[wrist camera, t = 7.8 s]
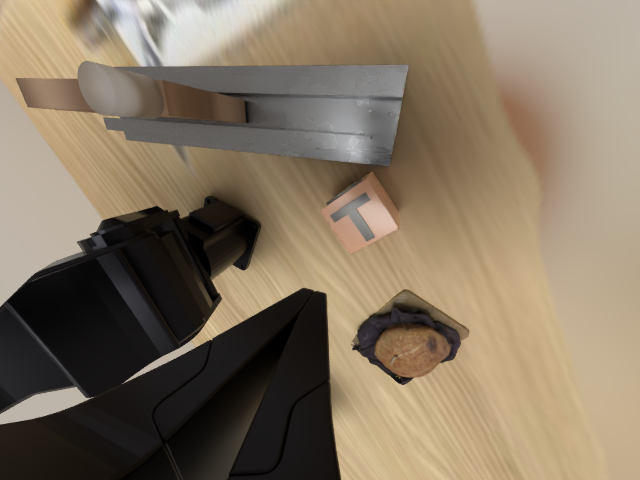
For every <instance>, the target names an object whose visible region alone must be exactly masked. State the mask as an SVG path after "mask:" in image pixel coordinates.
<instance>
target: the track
mask: <svg viewBox="0 0 640 480" xmlns="http://www.w3.org/2000/svg"><path fill="white" fill-rule="evenodd" d="M408 67H409V65H312V66H188V67H114V68H118V69H122V70H126V71H130V72H134V73H138V74H142V75H146V76H149V77H150V78H152V79H153V80H165V81H169V82H173V83H177V84H181V85H185V86H189V87H193V88H198V89H202V90H206V91H210V92H214V93H218V94H222V95H226V96H230V97H234V98H238V99H242V100H244V101H245V115H246V123H235V122H219V121H204V120H188V119H172V118H156V119H147V118H134V117H121V116H120V118H121V119H118V118H104V117H103V119H104V122H105V125H106V128H107V130H118V131H124V133H125V136H126V140H133V141H143V142H153V143H163V144H173V145H183V146H193V147H203V148H213V149H223V150H233V151H243V152H253V153H263V154H272V155H282V156H292V157H302V158H312V159H322V160H332V161H342V162H352V163H362V164H372V165H382V166H390V163H391V158H392V153H393V147H394V142H395V137H396V131H397V126H398V121H399V115H400V110H401V105H402V99H403V94H404V89H405V83H406V78H407V73H408Z"/></svg>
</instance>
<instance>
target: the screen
mask: <svg viewBox="0 0 640 480" xmlns="http://www.w3.org/2000/svg"><path fill="white" fill-rule="evenodd" d="M16 81H17V83H18V85H19V88H20V90H21V92H22V95H23V97H24V99H25V102H26V104H27V106H28V107H31V108H43V109H55V110H67V111H79V112H91V113H98V114H101V115H108V116H121V117H134V118H147V119H156V118H172V119H188V120H204V121H219V122H235V123H246V115H245V101H244V100H242V99H238V98H234V97H230V96H226V95H222V94H218V93H214V92H210V91H206V90H202V89H198V88H193V87H189V86H185V85H181V84H177V83H173V82H169V81H165V80H153V79H152V78H150V77H149V76H146V75H142V74H138V73H134V72H130V71H126V70H122V69H118V68H114V67H110V66H106V65H102V64H98V63H94V62H90V61H85V62H83V63H81V65H80V66H79V69H78V79H38V78H16Z"/></svg>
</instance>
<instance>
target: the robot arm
mask: <svg viewBox="0 0 640 480" xmlns="http://www.w3.org/2000/svg"><path fill="white" fill-rule="evenodd" d="M210 201H211V202H210ZM179 216H180V214H179V212H178V210H174V211H171V212H168V210H165V211H164V210H163V209H161V208H160V207H158V206H156V207H152V208H148V209H145V210H141V211H138V212H134V213H130V214H125V215H121V216H117V217H113V218H109V219H106V220H103V221H102V222H101V224H100V226H99V228H98V229H97V231H96V232H94V233H92V234H90V236H91V237H89V238H87V239H84V240H81V241H78V242H77V243H78V244H79V246H80V247H81V249H82V251H83V252H80V253H77V254H74V255H72V256H69V257H66V258H63V259H60V260H57V261H55V262H53V263H51V264H50V265H48V266H47V267H45V268H43V269H42V270H40V271H38V272H37V273H35V274H34V275H33V276H31V278H30V279H28V280H27V282H25V283H24V284H23V285H22V286H21V287H20V288H19V289H18V290H17V291H16V292H15V293H14V294H13V295H12V296H11V297H10V298H9V299H8V300H7V301H6V302H5V303H4V304H3V305H2V306H1V307H0V414H1V413H3V412H4V411H6V410H8V409H10V408H11V407H13V406H14V405H17V404H18V403H20V402H22V401H24V400H26V399H28V398H30V397H32V396H34V395H36V394H40V393H46V392H52V391H57V390H62V389H67V388H72V387H77V388H78V389H79V390H80V392H81V393H82V394H83V395H84V396H85V397H86V398H91V397H93V398H91V399H89V400H87V401H85V402H83V403H80V404H78V405H75V406H73V407H70V408H68V409H65V410H62V411H60V412H56V413H53V414H50V415H47V416H43V417H39V418H35V419H31V420H25V421H20V422H14V423H7V424H2V425H0V480H341V475H340V468H339V462H338V456H337V450H336V442H335V435H334V428H333V419H332V405H331V386H330V365H329V341H328V316H327V295H326V293H323V292H319V291H314V290H311V289H307V288H302V289H300V290H298V291H297V292H295V293H293V294H291V295H290V296H288V297H286V298H284V299H282V300H281V301H279V302H277V303H275V304H273V305H272V306H270V307H268V308H266V309H264V310H263V311H261V312H259V313H257V314H256V315H254V316H252V317H250V318H248V319H247V320H245V321H243V322H241V323H239V324H238V325H236V326H234V327H232V328H230V329H229V330H227V331H225V332H223V333H222V334H220V335H218V336H216V337H214V338H213V339H212V340H209V341H207V342H205V343H203V344H202V345H200V346H198V347H196V348H194V349H193V350H191V351H189V352H187V353H185V354H183V355H181V356H179V357H177V358H176V359H173V360H171V361H169V362H168V363H165V364H163V365H161V366H159V367H157V368H155V369H153V370H151V371H149V372H147V373H145V374H142V375H140V376H138V377H136V378H134V379H132V380H130V381H128V382H125V381H126V380H128V379H129V378H130V377H132V376H133V375H134V374H136V373H137V372H139V371H140V370H141V369H143V368H144V367H146V366H147V365H149V364H150V363H152V362H153V361H155V360H157V359H159V358H160V357H162V356H164V355H166V354H168V353H170V352H172V351H174V350H176V349H178V348H180V347H182V346H183V345H185V344H186V343H188V342H189V341H190V340H192V339H193V338H194V337H195V336H196V335H197V334H198V333H199V332H200V331H201V329H202V328H203V327H204V325H205V324H206V322H207V321H208V319H209V318H210V316H211V315H212V313H213V312H214V310H215V309H216V307H217V306H218V304H219V303H220V301H221V300H222V297H221V295H220V294H218V292H217V290H216V288H215V286H214V284H213V282H212V280H213V279H214V278H215V277H217V276H218V275H219V274H220V273H222V272H223V271H224V270H226V269H227V268H228V267H230V266H231V265H234V266H236V267H238V268H239V269H241V270H246V269H247V268H248V266H249V263H250V259H251V256H252V253H253V250H254V247H255V243H256V240H257V237H258V234H259V231H260V227H261V226H260V224H259V223H258V222H257V221H255V220H253V219H252V218H250V217H248V216H246V215H245V214H243V213H242V212H241V211H239V210H237V209H235V208H233V207H232V206H230V205H228V204H226V203H224V202H223V201H219V200H218V199H216V198H214V197H212V196H209V197H206V198H205V203H204V208H201V209H198V210H195V211H192V212H190V213H189V216H186V217H184V218H181V219H180V217H179ZM254 225H255V226H256V228H255V227H254ZM243 265H244V266H243ZM124 382H125V383H124ZM122 383H123V384H122Z"/></svg>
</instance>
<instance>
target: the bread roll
mask: <svg viewBox="0 0 640 480" xmlns="http://www.w3.org/2000/svg"><path fill="white" fill-rule="evenodd" d="M468 336H469V330H468V329H467V328H466V327H465V326H463V325H461V324H459V323H458V322H456V321H455V320H454V319H452V318H450V317H449V316H447V315H446V314H444V313H443V312H442V311H440V310H438V309H437V308H435V307H434V306H432V305H431V304H429V303H428V302H426V301H425V300H423V299H422V298H420V297H419V296H417V295H416V294H414V293H413V292H411V291H409V290H403V291H401V292H400V293H399V294H397V295H396V296H395V297H393V298H392V299H391V300H390V301H389V302H388V303H386V304H385V305H384V306H383V307H382V308H381V309H380V310H379V311H377V312H376V313H375V314H374V315H373V316H372V317H370V318H369V320H367V321H366V323H364V325H363V326H362V327H361V328H360V329H359V330H358V333H357V335H356V336H355V338H354V339H353V341H352V342H354V344H355V345H352V344H351V346H353V348H352V350H357V351H358V352H360V353H361V355H362V356H364V357H367V358H368V359H369V362H370V363H371V364H374V365H377V366H378V367H379V368H380V369H381V370H383V371H384V372H385V373H387V374H388V375H390V376H391V377H392V378H393V379H394V380H395V381H396V382H398V383H399V384H402V385H404V384H406V383H408V382H409V381H411V380H412V379H413V378H414V377H421V376H424V375H426V374H428V373H430V372H431V371H432V370H433V369H435V367H436V366H437V365H438V364H439V363H443V362H446V361H450V360H453V359H454V358H455V356H456V353H457V350H458V348H459V347H460V345H461V341H462V340H464V339H465V338H467V337H468ZM396 376H397V377H396ZM399 378H400V379H399Z"/></svg>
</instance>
